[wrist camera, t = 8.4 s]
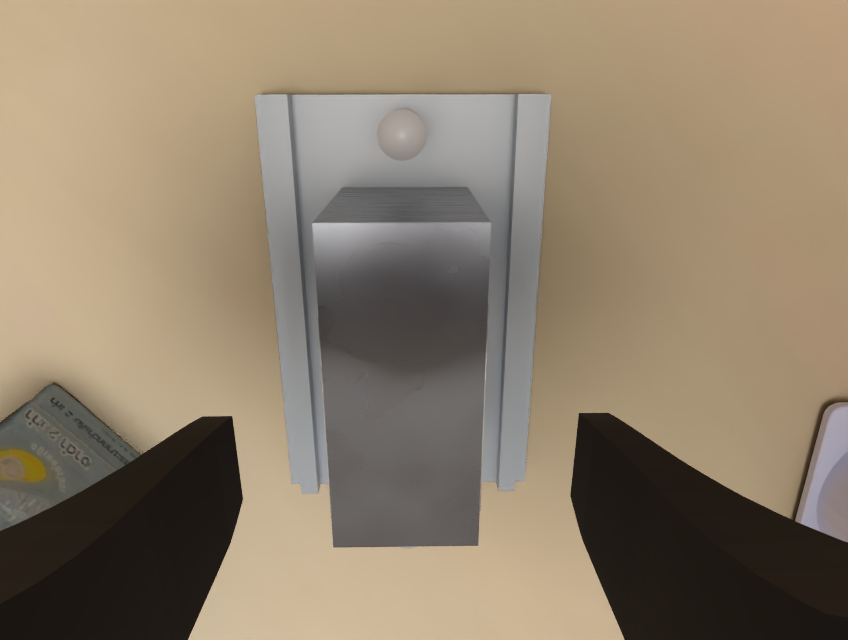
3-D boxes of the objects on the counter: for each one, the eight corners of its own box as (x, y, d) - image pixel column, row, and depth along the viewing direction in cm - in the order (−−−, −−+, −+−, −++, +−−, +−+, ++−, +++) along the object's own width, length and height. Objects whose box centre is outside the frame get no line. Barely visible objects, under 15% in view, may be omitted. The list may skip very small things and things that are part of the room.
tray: (545, 94, 19) (588, 91, 14) (521, 469, 23) (547, 556, 19) (260, 95, 18) (211, 92, 14) (295, 471, 23) (267, 560, 19)
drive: (469, 186, 19) (493, 222, 13) (462, 431, 22) (479, 545, 16) (340, 187, 19) (310, 222, 13) (352, 433, 22) (331, 547, 16)
